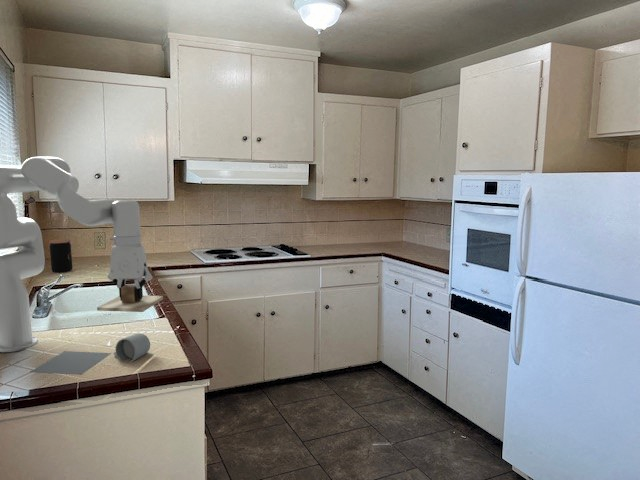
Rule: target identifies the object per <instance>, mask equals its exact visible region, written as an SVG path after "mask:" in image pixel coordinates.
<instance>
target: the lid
mask: <svg viewBox="0 0 640 480" xmlns="http://www.w3.org/2000/svg"><path fill="white" fill-rule="evenodd" d="M135 288H136V285H135V283H126V284H125V285H124V286H122V287H121V296H122V301H121V299H120V295H119V296H116V297H115V298H113V299H111V300H109V301H107V302H104V303H103V304H101V305H99V306H96V310H97V311H99V312H124V313H126V312H127V313H129V312H130V313H131V312H133V313H143V312H145V311H147V310H149V309H151V307H153V306H154V305H156V304H158V303H160V302H161V301H162V300H164V296H163V295H143V297H142V299H141V300H139V301H135Z"/></svg>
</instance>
